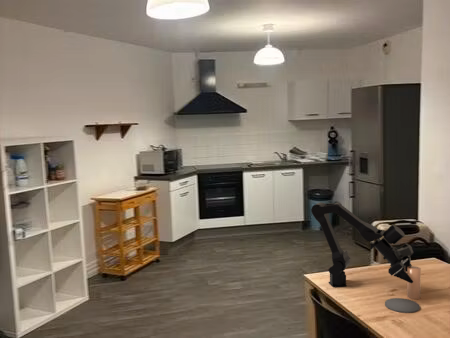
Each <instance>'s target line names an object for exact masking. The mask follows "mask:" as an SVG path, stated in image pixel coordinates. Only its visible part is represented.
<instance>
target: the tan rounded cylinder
mask: <svg viewBox="0 0 450 338" xmlns="http://www.w3.org/2000/svg"><path fill="white" fill-rule="evenodd" d="M421 271H422V268H421V267H419V266H415V265H414V266H413V265H412V266H409V267H407V273H408V275H409V276H410V277H411V279H412V280H413V283H409V282H407V281H406V297H407V299H410V300H419V299H421V275H422V274H421V273H422V272H421Z"/></svg>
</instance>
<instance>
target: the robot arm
mask: <svg viewBox="0 0 450 338" xmlns="http://www.w3.org/2000/svg"><path fill="white" fill-rule="evenodd" d="M310 212H311V215H312V216H313V217H314V219H315V220H316V221H317V222H318V224H319V225H320V228H321V230H322V232H323V234H324V237H325V239H326V242H327V243H328V247H329V248H330V252H331V261H332V265H331V266H330V267H329V268H328V273H329V281H328V282H327V283H328V284H329V285H331V287H333V288H341V287H347V286H348V285H347V275H346V272H345V270H346V268H348V267H349V265H350V259H351V258H350V256H349V252H348V251H347V250H343V249H342V248H341V244H340V243H339V240H338V238H337V236H336V233H335V231H334V228H333V226H332V224H331V221H330V214H331V213H332V214H333V213H335V214H337V215H338V216H339V217H340V218H342V219H343V220H345V221H346V222H347V223H348V224H350V225H351V227H354V228H355V229H356V230H357V232H358V233H359V235H360V236H361V237H362V238H363V240H365V241H366V242H370V243H369V249H370V250H373V249H374V248H375V250H377V252H378V253H380V255H381V256H382V258H383V260H386V261H387V262H388V263H389V264H390V265H389V268H388V274H389V275H390V276H391V277H392V276H393V277H396V278H399V279H401V280H403V281H406V283H407V282H409V283H413V280H412V279H411V277H410V276H409V275H408V273H407V267H409V266H413V265H412V263H411V260H412V258H411V256H412V255H413V254H414V250H413V247H412V246H411V245H410V244H409V243H404V244H403V245H402V247H401V248H397V247H394V246H393V245H396V244H397V243H398V242H399V241H401V240H402V239H403V238H404V237H406V236H405V232H404V231H403V230H402V229H401V228H400V227H398V226H396V225H395V224H391V225H390V226H389V227H388V228H387V229H386V230H384V229H378V228H377V227H376V226H374V225H373V224H371V223H368V222H366V221H364V220H362V219H361V218H359V217H358V216H356V215H355V214H354V213H353V212H351V211H350V210H349V209H348V208H347V207H345V206H344V205H342V203H341V202H336V203H335V202H334V203H333V202H331V203H329V202H328V203H324V202H317V203H316V204H314V205H312V206H311V209H310ZM373 241H374V242H373ZM392 244H393V245H392Z"/></svg>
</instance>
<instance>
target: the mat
mask: <svg viewBox="0 0 450 338" xmlns="http://www.w3.org/2000/svg"><path fill="white" fill-rule="evenodd" d="M384 305H385V307H386V308H387V309H388V310H390V311H393V312H396V313H403V314H413V313H417V312H419V311H420V307H421V306H420V304H419V303H418V302H416V301H414V300H413V299H410V298H402V297H401V298H400V297H393V298H389V299H386V300H385V301H384Z"/></svg>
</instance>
